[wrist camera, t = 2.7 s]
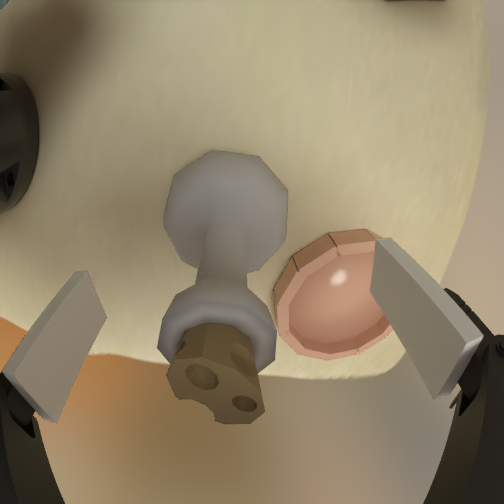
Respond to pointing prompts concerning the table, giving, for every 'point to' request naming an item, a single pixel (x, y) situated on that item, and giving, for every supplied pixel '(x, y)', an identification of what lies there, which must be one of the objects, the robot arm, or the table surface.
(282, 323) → the saucer
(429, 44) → the table surface
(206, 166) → the potion bottle
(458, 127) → the table surface
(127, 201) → the table surface
